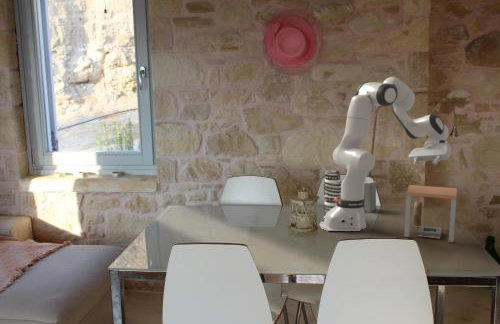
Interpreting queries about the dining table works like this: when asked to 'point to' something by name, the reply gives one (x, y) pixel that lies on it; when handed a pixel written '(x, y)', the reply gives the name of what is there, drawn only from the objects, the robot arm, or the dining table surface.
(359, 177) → the robot arm
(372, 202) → the skincare box
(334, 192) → the decorative candle
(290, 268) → the dining table surface
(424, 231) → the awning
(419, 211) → the peg
